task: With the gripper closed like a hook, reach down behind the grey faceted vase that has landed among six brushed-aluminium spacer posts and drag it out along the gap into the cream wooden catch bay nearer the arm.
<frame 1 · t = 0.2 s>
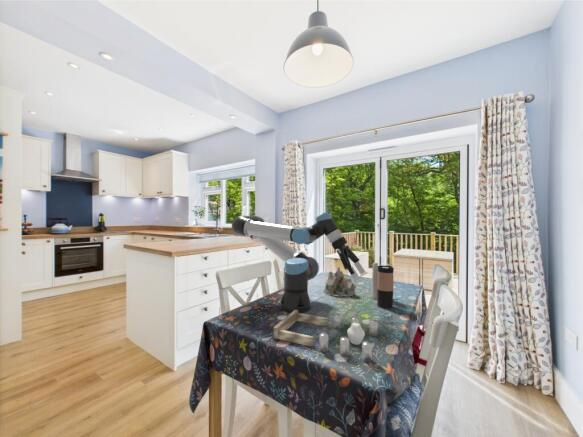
hand: (360, 276, 125), 16 cm above the table, tool tilted 35°, fingers open, 13 cm apart
candle: (384, 298, 142), on the table
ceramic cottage: (339, 294, 149), on the table
spacer field: (350, 341, 91), on the table
grey faceted vase: (355, 343, 90), on the table
travel mug: (384, 306, 129), on the table
catch bay: (308, 332, 98), on the table
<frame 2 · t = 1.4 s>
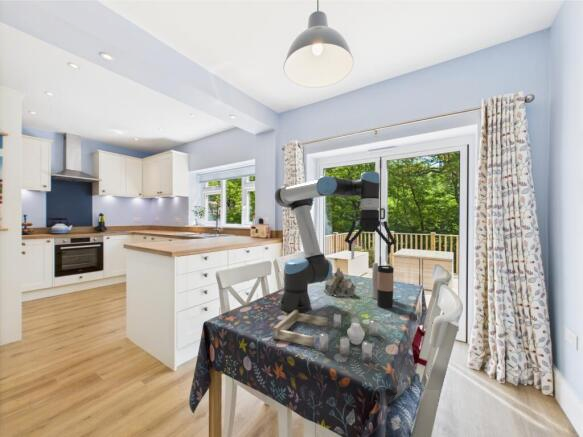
hand: (369, 260, 106), 27 cm above the table, tool pointing down, fingers open, 13 cm apart
nothing on the table moved.
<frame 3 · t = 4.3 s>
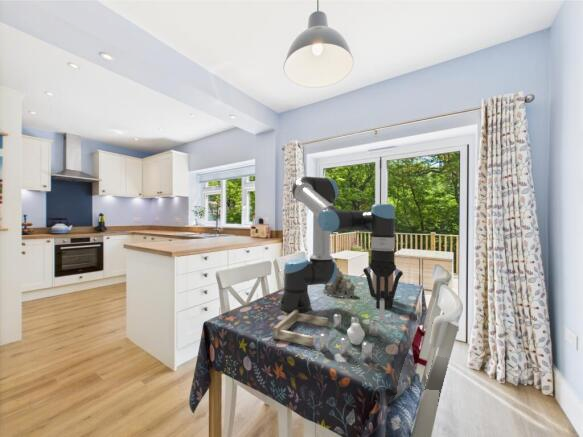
hand: (382, 318, 87), 10 cm above the table, tool pointing down, fingers closed
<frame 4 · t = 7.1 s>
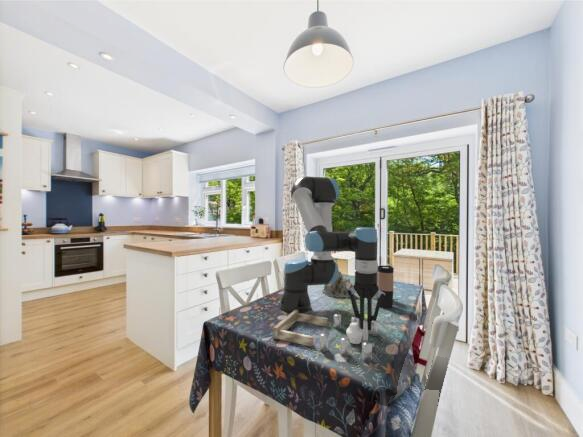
hand: (365, 338, 89), 2 cm above the table, tool pointing down, fingers closed
grey faceted vase: (355, 342, 90), on the table, touching gripper
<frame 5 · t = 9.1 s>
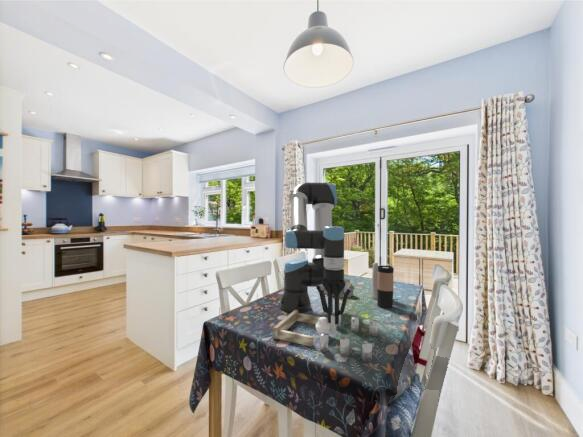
hand: (333, 332, 94), 2 cm above the table, tool pointing down, fingers closed
grey faceted vase: (324, 336, 95), on the table, touching gripper
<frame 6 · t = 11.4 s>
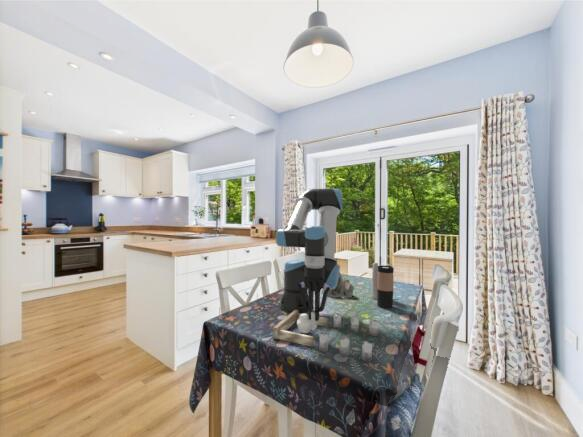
hand: (313, 328, 97), 2 cm above the table, tool pointing down, fingers closed
grey faceted vase: (305, 332, 98), on the table, touching gripper
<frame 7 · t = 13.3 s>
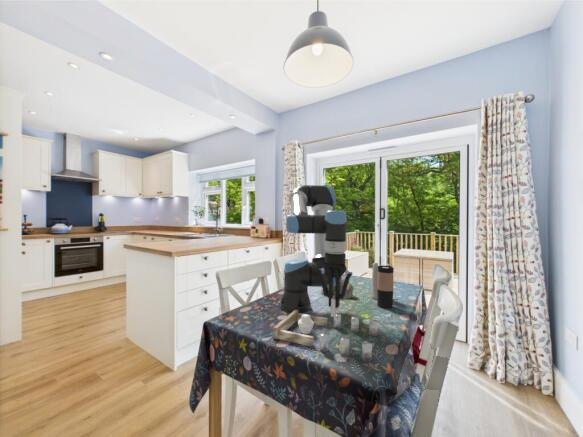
hand: (333, 315, 94), 8 cm above the table, tool pointing down, fingers closed
grey faceted vase: (305, 332, 98), on the table
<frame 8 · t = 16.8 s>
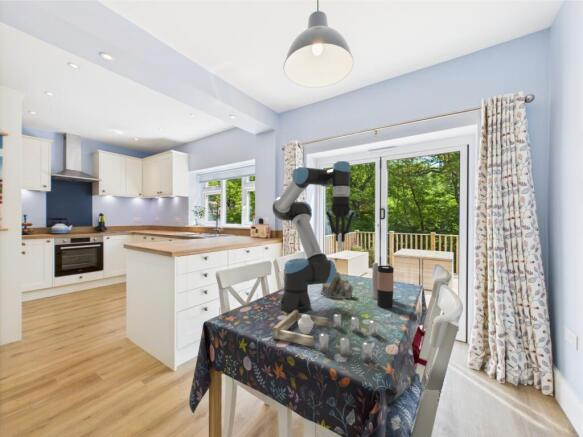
hand: (340, 249, 114), 30 cm above the table, tool pointing down, fingers closed
at the end: grey faceted vase inside the target area on the catch bay (0.6 cm from its centre), point 0.0 cm above the catch bay's base; grey faceted vase tilted 0°; grey faceted vase moved 19.0 cm from its start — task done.
